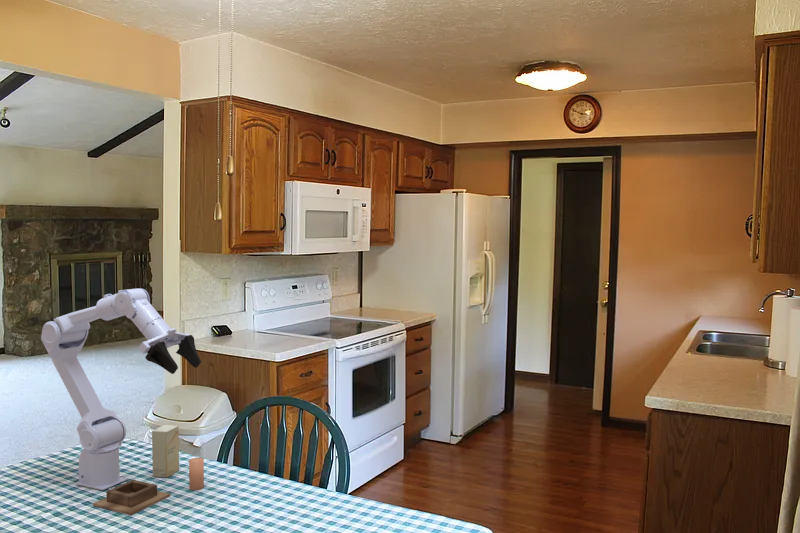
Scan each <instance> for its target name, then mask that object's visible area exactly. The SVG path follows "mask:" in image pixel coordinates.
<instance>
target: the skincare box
mask: <svg viewBox="0 0 800 533" xmlns="http://www.w3.org/2000/svg"><path fill="white" fill-rule="evenodd" d="M179 435H180V434H179V425H176V424H175V425H172V424H163V425H161V426H158V427H157V428H156V429H153V430H151V442H152V443H151V445H152V446H151V447H152V448H151V449H152V452H151V453H152V455H151V456H152V457H151V458H152V459H151V460H152V477H157V478H169V477H170V476H171V475H174V474H175V473H177V472H178V471H179V470H180V453H179V452H180V449H179V448H180V444H179V443H180V441H179V439H180V438H179Z"/></svg>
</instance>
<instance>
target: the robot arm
mask: <svg viewBox="0 0 800 533" xmlns="http://www.w3.org/2000/svg"><path fill="white" fill-rule="evenodd" d="M125 316H126V318H127V319H130V320H131V321H132V323H133V324H134V325H135V327H137V329H138V330H139V332H140V333H141V334H142V335H143V336H144V338H145V339H146V340H145V341H142V342H141V343H140V345H139V346H138V349H139V350H140V351H141V353H142V354H146V355H145V359H146V361H148V362H151V363H154V364H156V365H158V366H159V367H161V368H162V369H163V370H166V371H167V372H168V373H170V374H171V375H174V374H175V373H176V372H177V370H179V366H178V364H177V363H176V361H175V359H174V358H173V357H172V355H171V354H170V351H169V350H168V348H172V347H173V346H177V345H178V349H177V351H176V352H175V354H177V355H179V356H180V357H183V358H184V359H185V360H186V361H187V362H188V364H190V365H191V366H192V367H193V368H195V369H196V368H198V367H199V366H200V365H201V363H202V360H201V358H200V356H199V353H198V351H197V348H196V343H195V336H193V335H192V334H189V333H188V332H185V333H184V332H178V331H177V329H176V327H173V328H171V327H170V325H169V324H168V323H167V322H166V320H164V318H163V317H162V316H161V315H160V313H159V312H158V311H157V309H155V308H154V306H153V305H152V304H151V298H150V295H149V292H148V291H147V290H146V289H144V288H131V289H130V288H129V289H128V288H127V289H120V290H118V291H117V293H114V294H112V293H106V294H103V297H102V298H101V299H99V300H97V302H96V305H95V306H91V307H88V308H87V307H86V308H84V309H79V310H76V311H72V312H69V313H67V314H63V315H61V316H57V317H55V318H53V321H52V320H50V321H47V322H45V323H44V324H43V326H42V330H41V335H40V340H41V342H42V344H43V346H44V348H45V349H46V351H47V353H48V355H49V357H50V358H51V361H52V364H53V365H54V367H55V369H56V371H57V372H58V375H59V377H60V379H61V380H62V382H63V385H64V386H65V388H66V390H67V392H68V394H69V396H70V398H71V400H72V402H73V404H74V405H75V407H76V409H77V411H78V413H79V416H80V417H81V418H82V419H81V420H80V422H79V423H78V426H77V427H76V432H77V433H78V436H79V442H80V445H81V446H82V448H83V449H82V450H81V452H80V454H79V457H78V480H79V481H76V483H75V484H76V485H77V486H78V485H79V486H82V487H87V488H91V489H95V490H100V491H105V490H107V489H109V488H112V487H114V486H116V485H118V484H119V485H120V484H121V483H123V482H127V480H128V477H124V476H120V446H122V442H123V441H124V440H125V437H126V436H127V428H126V424H125V423H124V422H123V421H122V420H121V419H120V418H119V417H118V415H117V413H116V412H115V411H113V410H110V409H107V408H106V407H104V406H103V404H102V402H101V400H100V398H99V397H98V395H97V393H96V391H95V390H94V388H93V385H92V384H91V382H90V379H89V378H88V376H87V373H85V371H84V368H83V367H82V365H81V363H80V361H79V359H78V354H79V353H80V352H81V351H82V350H83V347H84V344H85V342H86V341H87V338H88V335H89V330H90V329H91V324H90V323H92V322H93V321H96V320H99V319H101V320H103V321H107V322H108V321H112V320H114V319H118V318H121V317H125Z"/></svg>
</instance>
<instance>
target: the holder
mask: <svg viewBox="0 0 800 533" xmlns="http://www.w3.org/2000/svg"><path fill="white" fill-rule="evenodd" d="M169 497H171V493H168V492H164V491H160V490H158V484H153V483H149V482H146V481H145V482H144V481H140V480H135V479H132V480H131V479H130V480H129V481H126V482H124V483H122V484H119V485H117V486H115V487H113V488H111V489H108V490H107V491H106V497H104V498H101V499H99V500H97V501H95V502H93V503H92V506H93V507H97V508H100V507H101V509H104V508H105V510H109V511H112V512H116V513H119V512H120V514H124V515H128V516H133V515H135V514H137V513H139V512H141V511H144V510H145V509H147V508H149V507H152V506H153V505H155V504H157V503H159V502H161V501H163V500H165V499H168V498H169Z"/></svg>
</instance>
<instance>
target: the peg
mask: <svg viewBox="0 0 800 533" xmlns="http://www.w3.org/2000/svg"><path fill="white" fill-rule="evenodd" d="M204 462H205V460H204V458H203V457H194V458H193V457H192V458H190V459H189V460H188V477H189V478H188V480H189V482H188V483H189V484H188V488H189V490H191V491H200V490H202V489H204V488H205V478H204V477H205V471H204V470H205V465H204Z"/></svg>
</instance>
